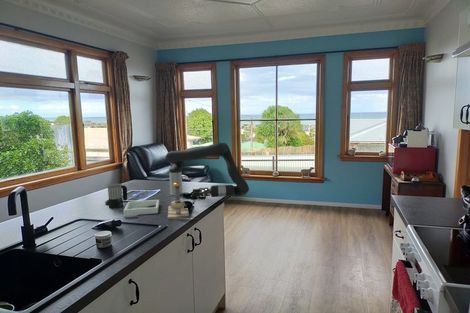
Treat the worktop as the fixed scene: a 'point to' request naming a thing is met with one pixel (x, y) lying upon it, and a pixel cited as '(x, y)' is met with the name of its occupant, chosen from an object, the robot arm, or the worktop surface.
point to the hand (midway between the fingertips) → (193, 192)
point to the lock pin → (177, 191)
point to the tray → (140, 208)
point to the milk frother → (116, 195)
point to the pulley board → (173, 213)
